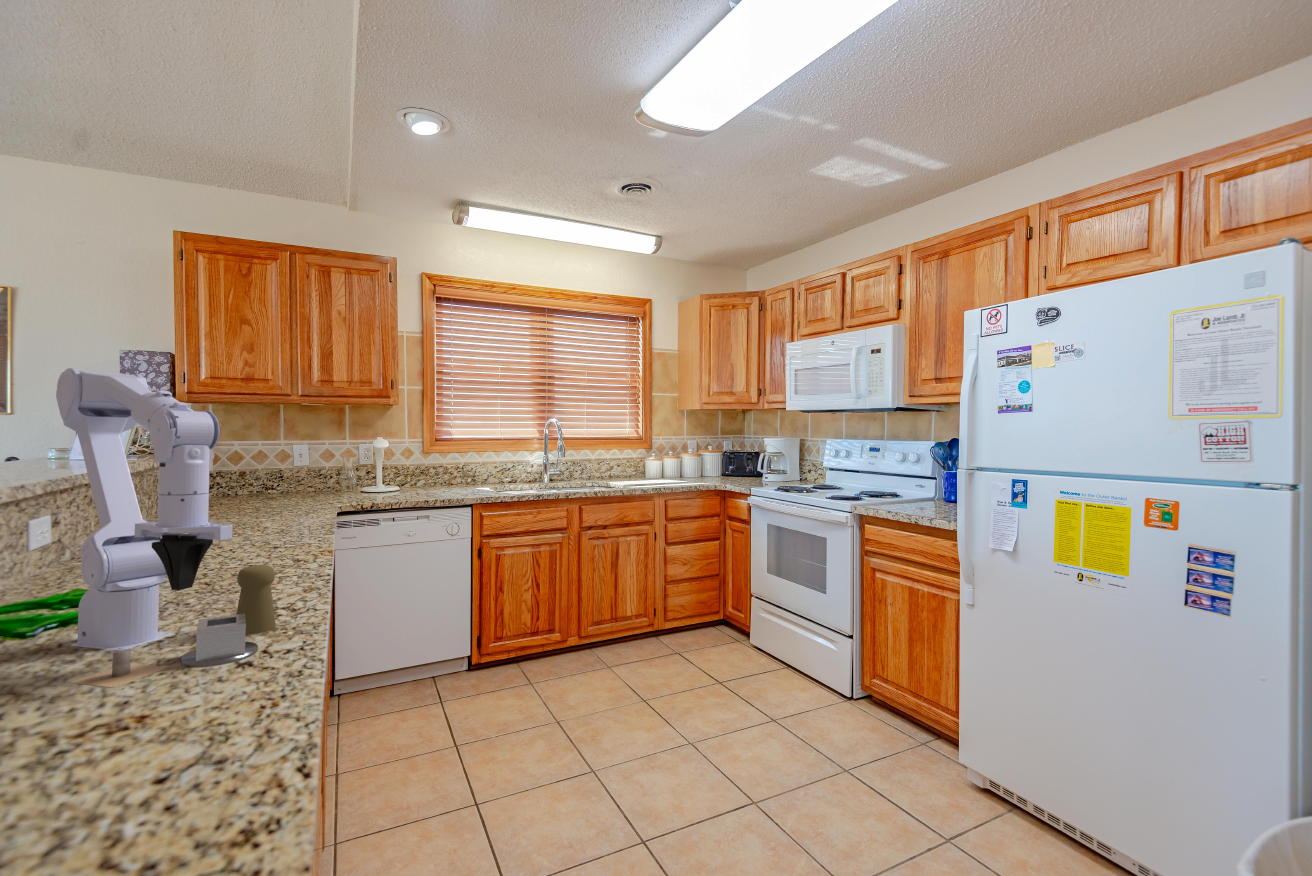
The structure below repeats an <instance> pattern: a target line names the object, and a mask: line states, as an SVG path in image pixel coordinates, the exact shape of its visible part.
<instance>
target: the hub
mask: <svg viewBox="0 0 1312 876" xmlns="http://www.w3.org/2000/svg"><path fill="white" fill-rule="evenodd" d="M258 651H259V645H258V644H257V643H255V642H251V641H245V655H240V656H233V657H227V658H221V659H214V660H208V661H201V662H196V648H195V649H192V650H188V651H187V652H185V653H184V654H182V656H181V658H180V659H181V660H180V661H181V664H182V665H185V666H188V667H197V668H198V667H200V668H202V667H214V666H222V665H226V664H231V663H235V662H239V661H242V660H245V659H248V658H250V657H253V656H255V654H257V652H258Z"/></svg>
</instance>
